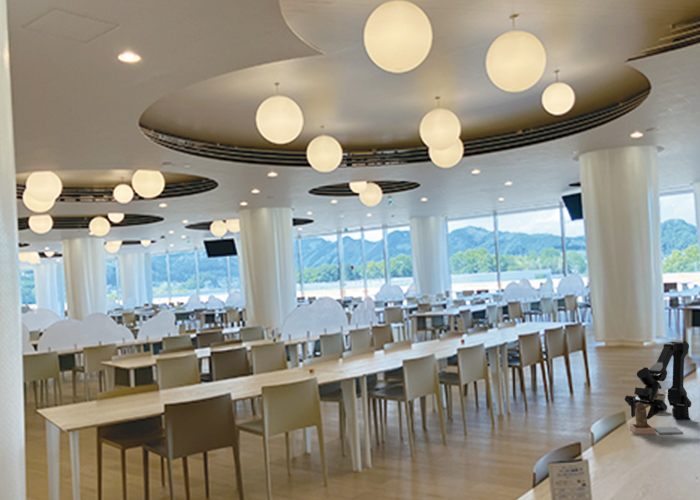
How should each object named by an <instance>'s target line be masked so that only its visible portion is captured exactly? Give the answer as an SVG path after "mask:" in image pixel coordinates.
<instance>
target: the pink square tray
mask: <svg viewBox="0 0 700 500" xmlns="http://www.w3.org/2000/svg"><path fill="white" fill-rule="evenodd" d="M647 425H648V428H637V426H636V423H629V430H631V431H632V432H633V433H634V434H635V435H644V434H645V435H646V434H649V435H651V434H654V435H655V434H657V433H656V431H655V428H654V427H655V426H653V425H652V424H651V423H647Z"/></svg>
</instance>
